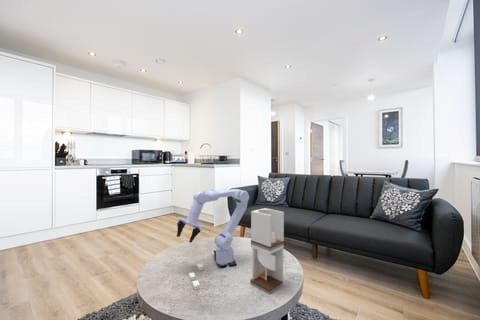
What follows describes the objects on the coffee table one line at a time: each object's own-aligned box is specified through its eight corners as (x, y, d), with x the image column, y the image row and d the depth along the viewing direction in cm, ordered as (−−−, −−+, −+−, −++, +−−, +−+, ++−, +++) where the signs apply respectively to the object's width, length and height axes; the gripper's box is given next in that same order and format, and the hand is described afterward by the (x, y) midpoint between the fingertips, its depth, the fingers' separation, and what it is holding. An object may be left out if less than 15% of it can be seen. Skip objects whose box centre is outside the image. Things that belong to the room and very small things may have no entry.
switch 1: (193, 275, 110) (193, 272, 110) (195, 279, 106) (195, 276, 106) (188, 276, 109) (188, 273, 109) (190, 280, 105) (190, 277, 105)
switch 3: (201, 266, 119) (201, 263, 119) (203, 269, 116) (203, 266, 116) (196, 267, 118) (196, 264, 118) (198, 270, 115) (198, 267, 115)
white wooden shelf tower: (250, 284, 106) (251, 211, 106) (264, 276, 113) (265, 208, 113) (269, 294, 98) (270, 215, 98) (282, 285, 105) (283, 212, 105)
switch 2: (197, 284, 102) (197, 280, 102) (199, 288, 99) (199, 284, 99) (192, 285, 101) (192, 281, 101) (194, 290, 98) (194, 285, 98)
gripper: (179, 208, 115) (168, 234, 112) (203, 218, 111) (192, 245, 108) (185, 209, 122) (175, 233, 119) (208, 218, 117) (198, 244, 115)
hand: (184, 239), depth 114 cm, fingers open, 7 cm apart
